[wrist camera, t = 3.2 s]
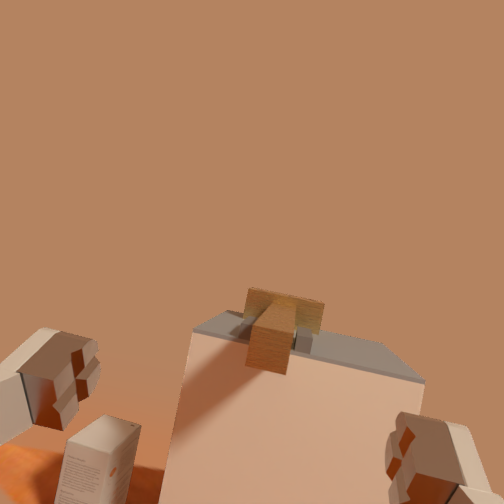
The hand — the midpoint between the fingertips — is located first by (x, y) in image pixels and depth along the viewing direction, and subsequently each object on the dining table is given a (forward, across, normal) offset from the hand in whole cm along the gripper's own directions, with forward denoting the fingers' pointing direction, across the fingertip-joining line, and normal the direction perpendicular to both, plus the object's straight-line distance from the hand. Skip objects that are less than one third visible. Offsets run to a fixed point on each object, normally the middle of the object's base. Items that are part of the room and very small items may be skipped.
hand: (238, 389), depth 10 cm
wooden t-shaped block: (+24, 0, -18) cm, 30 cm away
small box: (+14, -18, -44) cm, 49 cm away
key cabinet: (+15, +3, -44) cm, 47 cm away
